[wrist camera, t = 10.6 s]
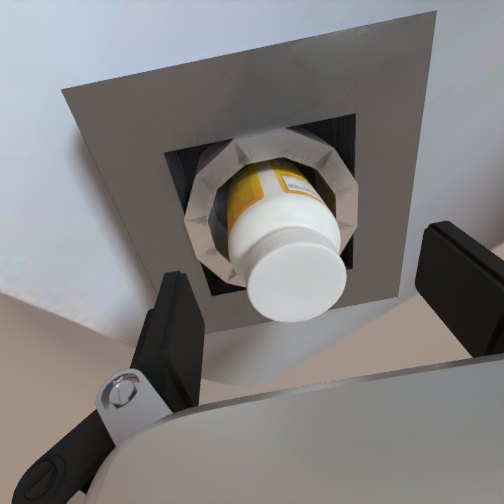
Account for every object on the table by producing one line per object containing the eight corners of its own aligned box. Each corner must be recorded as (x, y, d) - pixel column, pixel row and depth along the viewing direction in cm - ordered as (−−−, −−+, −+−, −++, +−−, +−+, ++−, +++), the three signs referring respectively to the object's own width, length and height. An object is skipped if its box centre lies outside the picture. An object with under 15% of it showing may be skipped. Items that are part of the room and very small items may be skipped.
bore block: (394, 21, 15) (444, 8, 12) (375, 267, 24) (401, 301, 20) (91, 85, 15) (55, 90, 12) (183, 305, 24) (177, 344, 21)
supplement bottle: (301, 145, 18) (368, 210, 10) (309, 221, 21) (365, 319, 13) (216, 165, 18) (213, 245, 10) (236, 237, 21) (246, 344, 13)
